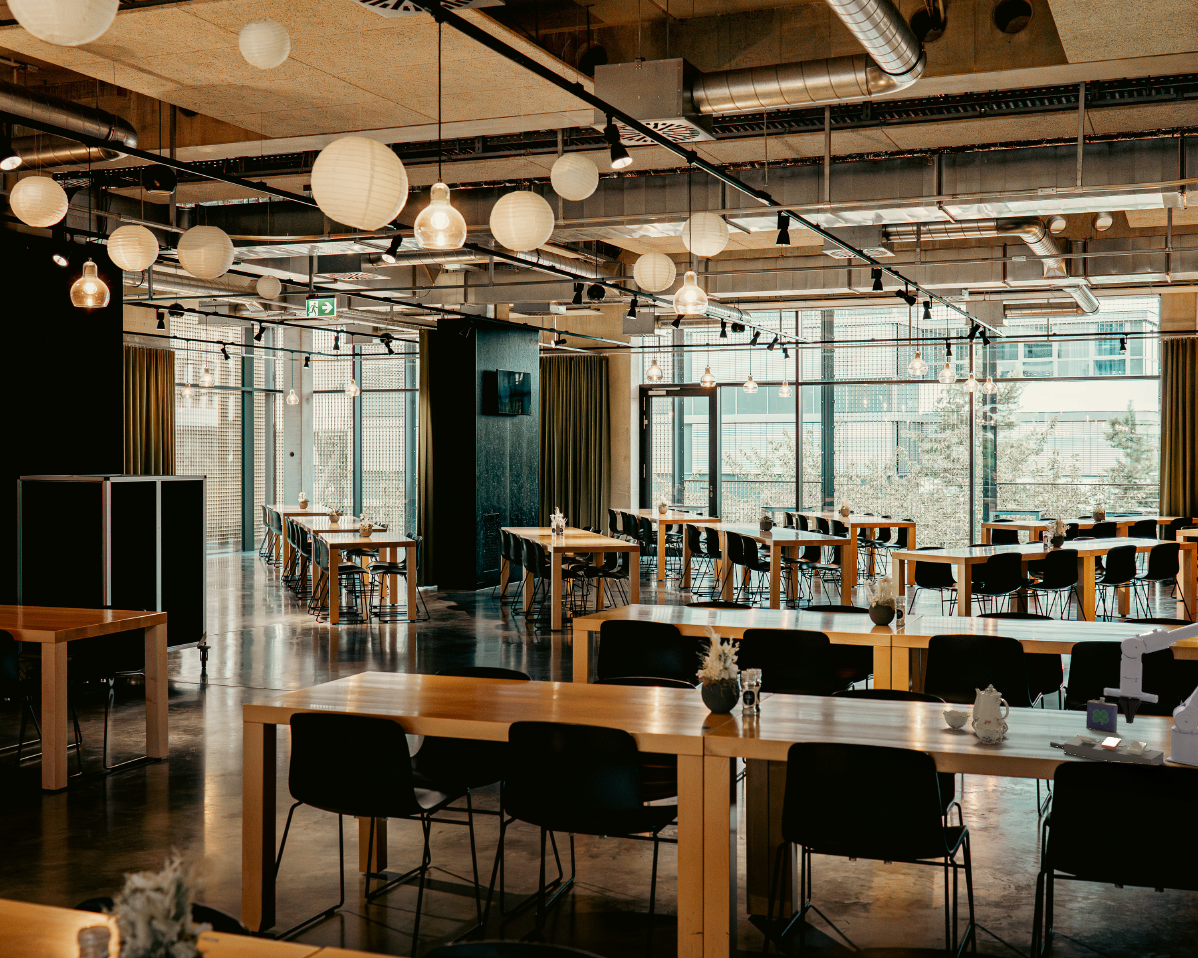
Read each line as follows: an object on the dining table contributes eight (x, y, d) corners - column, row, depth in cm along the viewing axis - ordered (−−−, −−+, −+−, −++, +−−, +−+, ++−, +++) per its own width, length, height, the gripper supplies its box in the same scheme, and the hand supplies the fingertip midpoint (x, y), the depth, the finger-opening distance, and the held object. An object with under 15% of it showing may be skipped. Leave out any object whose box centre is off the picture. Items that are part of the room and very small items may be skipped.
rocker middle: (1121, 743, 316) (1121, 738, 316) (1114, 751, 312) (1114, 746, 312) (1108, 741, 319) (1108, 736, 318) (1101, 749, 314) (1101, 743, 314)
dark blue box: (1117, 731, 349) (1118, 698, 349) (1115, 733, 347) (1116, 700, 347) (1087, 726, 355) (1088, 694, 355) (1084, 728, 353) (1085, 695, 353)
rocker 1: (1095, 744, 321) (1096, 738, 321) (1089, 742, 316) (1089, 737, 317) (1082, 741, 323) (1083, 736, 323) (1076, 740, 319) (1077, 734, 319)
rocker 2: (1146, 748, 312) (1146, 742, 311) (1140, 756, 307) (1140, 751, 307) (1133, 745, 314) (1133, 740, 314) (1127, 754, 310) (1126, 749, 309)
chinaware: (932, 731, 351) (929, 681, 350) (974, 723, 356) (971, 673, 355) (990, 753, 324) (987, 699, 324) (1035, 744, 330) (1032, 691, 329)
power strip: (1163, 762, 313) (1163, 751, 313) (1151, 769, 304) (1151, 758, 304) (1057, 742, 333) (1058, 731, 333) (1043, 749, 324) (1043, 738, 324)
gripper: (1161, 679, 319) (1160, 724, 319) (1109, 672, 329) (1108, 716, 329) (1154, 682, 314) (1153, 728, 314) (1102, 674, 324) (1100, 719, 324)
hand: (1129, 722), depth 321 cm, fingers closed
